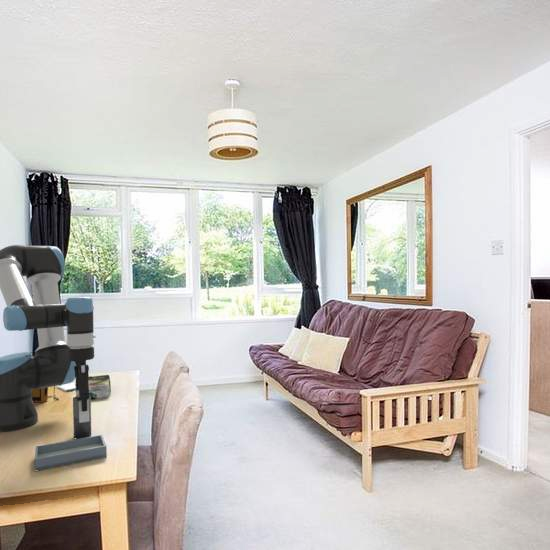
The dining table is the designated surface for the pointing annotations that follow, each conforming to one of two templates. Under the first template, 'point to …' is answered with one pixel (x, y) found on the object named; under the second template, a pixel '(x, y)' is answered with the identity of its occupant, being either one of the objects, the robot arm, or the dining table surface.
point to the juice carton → (99, 386)
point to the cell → (85, 427)
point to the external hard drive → (67, 387)
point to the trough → (69, 452)
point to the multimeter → (41, 394)
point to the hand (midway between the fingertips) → (82, 416)
